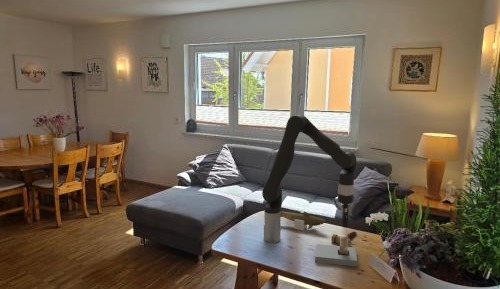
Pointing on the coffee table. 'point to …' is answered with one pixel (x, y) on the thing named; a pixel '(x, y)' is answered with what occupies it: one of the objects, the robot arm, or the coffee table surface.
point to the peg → (343, 245)
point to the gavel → (337, 238)
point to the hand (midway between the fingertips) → (344, 223)
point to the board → (335, 255)
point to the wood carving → (302, 219)
